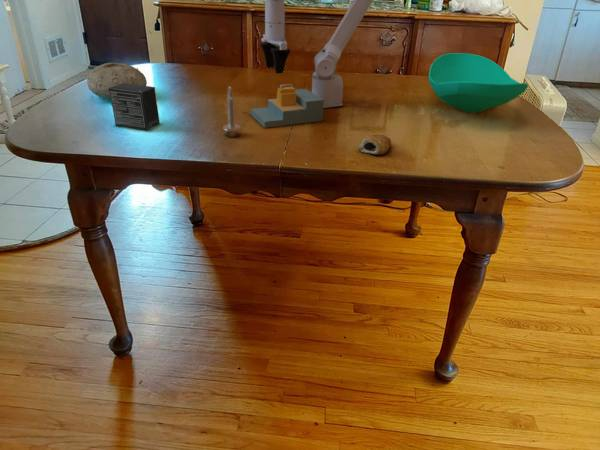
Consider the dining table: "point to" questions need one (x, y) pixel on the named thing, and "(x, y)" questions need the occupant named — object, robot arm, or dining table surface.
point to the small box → (134, 106)
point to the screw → (231, 116)
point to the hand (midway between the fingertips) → (274, 70)
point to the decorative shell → (113, 77)
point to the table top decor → (472, 82)
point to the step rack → (291, 111)
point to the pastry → (375, 144)
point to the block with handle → (286, 95)
